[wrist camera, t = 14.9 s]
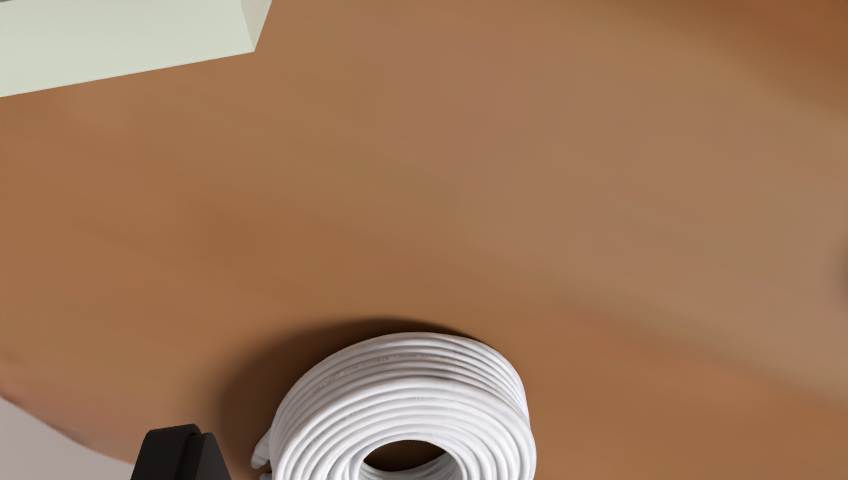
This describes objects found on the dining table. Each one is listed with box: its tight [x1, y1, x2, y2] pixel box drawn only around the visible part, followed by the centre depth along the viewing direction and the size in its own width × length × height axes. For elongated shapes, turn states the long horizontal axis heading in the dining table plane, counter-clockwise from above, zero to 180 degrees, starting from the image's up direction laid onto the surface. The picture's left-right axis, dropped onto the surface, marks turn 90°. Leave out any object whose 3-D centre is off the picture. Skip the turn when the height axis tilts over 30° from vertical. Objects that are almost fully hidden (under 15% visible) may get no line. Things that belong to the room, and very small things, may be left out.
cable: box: [251, 332, 536, 480], centre depth 48 cm, size 18×18×6 cm
